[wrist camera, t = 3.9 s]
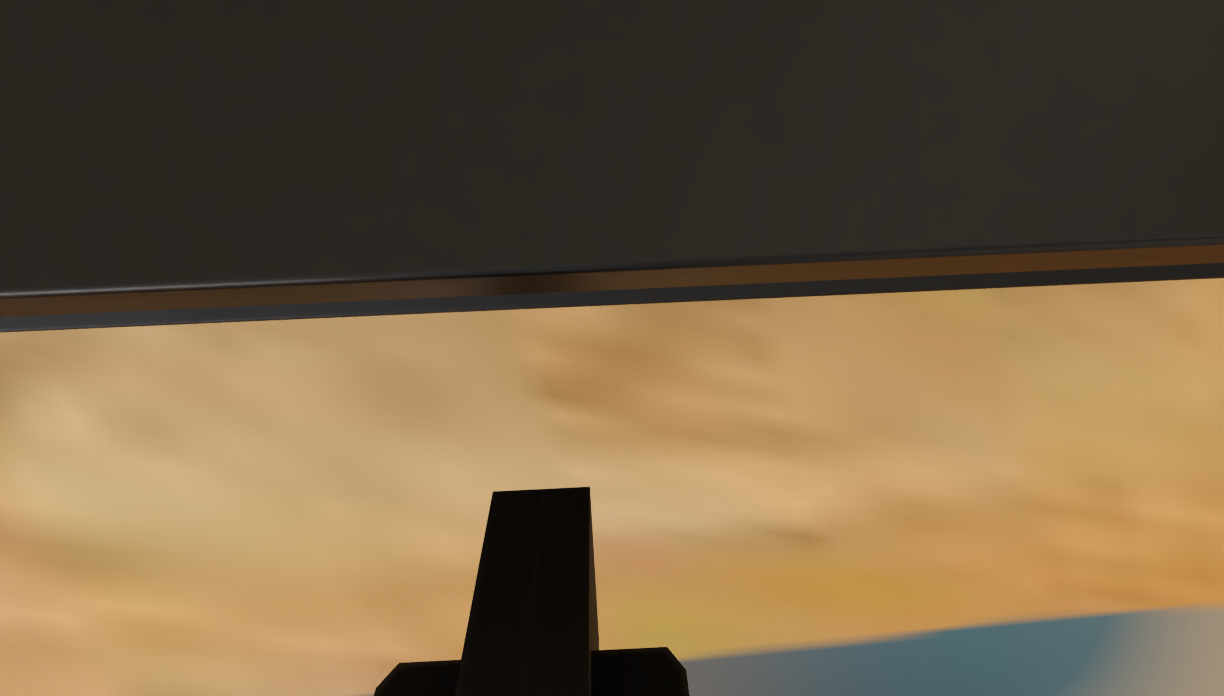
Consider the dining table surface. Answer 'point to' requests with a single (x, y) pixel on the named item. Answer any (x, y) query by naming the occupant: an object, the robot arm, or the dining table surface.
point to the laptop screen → (592, 145)
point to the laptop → (611, 297)
